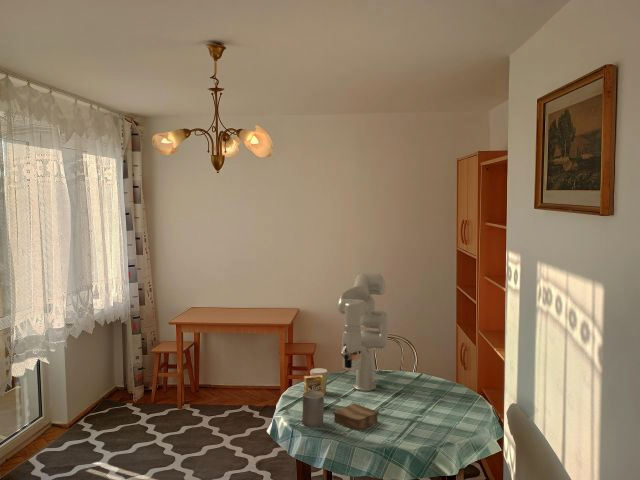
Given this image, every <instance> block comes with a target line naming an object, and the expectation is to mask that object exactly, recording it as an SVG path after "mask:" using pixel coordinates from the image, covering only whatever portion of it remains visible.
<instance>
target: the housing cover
mask: <svg viewBox="0 0 640 480" xmlns="http://www.w3.org/2000/svg"><path fill="white" fill-rule="evenodd" d="M347 356H348V354H347ZM360 357H361V354H357V353H351V356H350V359H352V360H357V359H360Z"/></svg>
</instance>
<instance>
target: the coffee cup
mask: <svg viewBox="0 0 640 480" xmlns="http://www.w3.org/2000/svg"><path fill="white" fill-rule="evenodd" d="M309 373H310V375H309V376H311V375H322V376H323V394H324V395H325V394H326V393H327V386H328V385H327V383H328V373H329V372H328V370H327V369H326V368H322V367H320V368H319V367H318V368H312V369H311V370H310V371H309Z"/></svg>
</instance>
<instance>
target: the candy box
mask: <svg viewBox="0 0 640 480" xmlns="http://www.w3.org/2000/svg"><path fill="white" fill-rule="evenodd" d="M308 391H318V392H321V393H323V376H322V375H311V376H310V375H303V393H305V392H308Z"/></svg>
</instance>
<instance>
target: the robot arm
mask: <svg viewBox="0 0 640 480" xmlns="http://www.w3.org/2000/svg"><path fill="white" fill-rule="evenodd" d="M386 292H387V283H386V280H385V277H384V276H383V275H382V274H379V273H371V272H369V273H367V272H364V273H359V274H358V275H357V276H356V278H355V280H354V283H353V285H352V287H350V288H348V289H346V290H344V291H343V292H342V293H341V295H340V296H339V300H338V301H337V302H338V303H337V311H338V313H340V315H344V329H343V330H344V331H343V332H342V336H341V337H342V338H341V345H340V346H341V348H340V349H341V352H340V355H341V356H342V358H343V357H344V359H345V367H346V368H351V360H350V356H351V353H357V354H361V357H360V358H361V369H358V370H355V383H353V384H352V388H353V389H354V390H357V391H361V392H370V391H374V390H376V389H377V385H376V384H375V382H378V381H379V378H378V377H374V374H375V373H374V372H375V370H374V369H375V365H374V364H375V355H374V353H373V351H372V350H371V349H374V350H375V349H376V350H384V349H386V348H387V346H388V338H389V337H388V336H389V335H388V334H389V333H388V332H389V317H388V314H387V312H385V310H384V311H382V310H376V308H375V307H376V301H375V298H374V297H373V295H374V296H383V295H385V294H386ZM361 327H362V328H365V329H362V330H361ZM366 329H367V330H366ZM369 329H378V330H369ZM347 354H348V356H347Z"/></svg>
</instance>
